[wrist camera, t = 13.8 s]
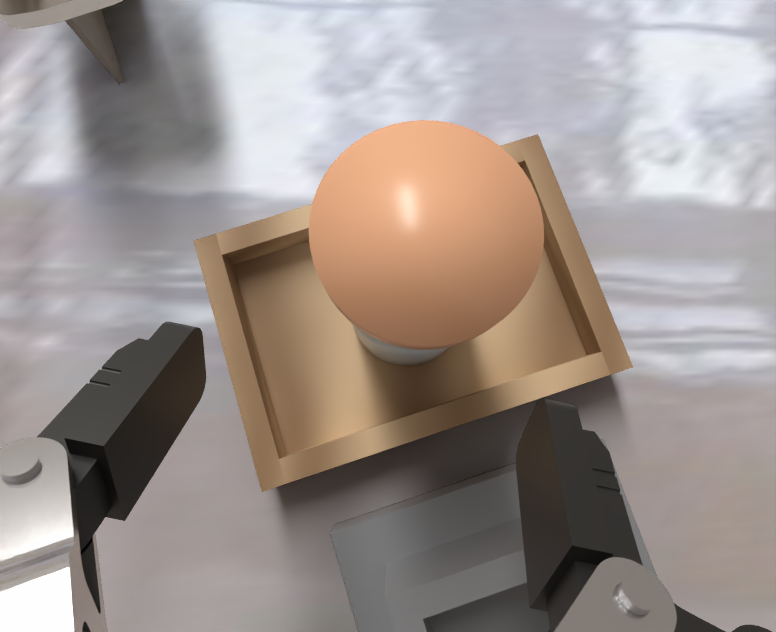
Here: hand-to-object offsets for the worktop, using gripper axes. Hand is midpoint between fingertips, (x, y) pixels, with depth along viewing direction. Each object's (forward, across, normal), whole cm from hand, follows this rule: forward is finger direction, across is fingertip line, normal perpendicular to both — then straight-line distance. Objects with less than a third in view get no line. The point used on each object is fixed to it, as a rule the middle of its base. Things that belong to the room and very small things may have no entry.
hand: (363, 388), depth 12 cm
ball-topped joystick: (+10, -1, +4) cm, 11 cm away
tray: (+11, -1, +5) cm, 12 cm away
